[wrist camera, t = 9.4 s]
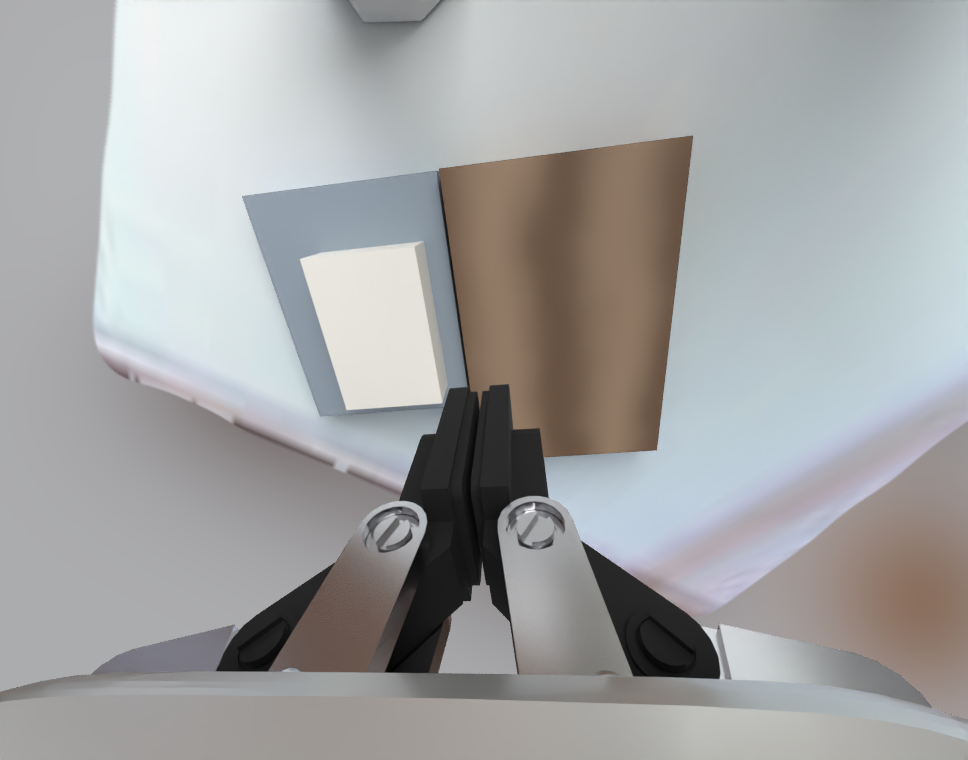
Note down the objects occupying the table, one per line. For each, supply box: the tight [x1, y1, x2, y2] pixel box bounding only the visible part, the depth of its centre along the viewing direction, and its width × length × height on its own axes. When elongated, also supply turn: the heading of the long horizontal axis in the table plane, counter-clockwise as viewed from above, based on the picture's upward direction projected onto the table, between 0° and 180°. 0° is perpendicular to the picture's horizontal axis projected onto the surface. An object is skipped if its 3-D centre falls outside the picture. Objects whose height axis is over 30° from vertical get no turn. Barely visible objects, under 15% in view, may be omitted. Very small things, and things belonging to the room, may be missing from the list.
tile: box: [300, 241, 448, 410], centre depth 22 cm, size 6×9×2 cm, turn 6°
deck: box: [439, 136, 693, 457], centre depth 23 cm, size 12×18×3 cm, turn 6°
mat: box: [242, 171, 470, 416], centre depth 24 cm, size 11×14×2 cm
